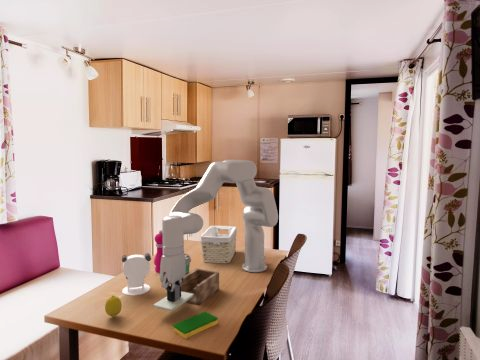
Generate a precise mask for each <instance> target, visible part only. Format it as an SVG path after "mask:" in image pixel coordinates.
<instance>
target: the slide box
mask: <svg viewBox="0 0 480 360" xmlns="http://www.w3.org/2000/svg"><path fill="white" fill-rule="evenodd" d="M219 290H220V272H218V271H214V270H213V271H212V270H209V269H208V270H207V269H202V268H195V269H194V270H192V271H189V273H188V274H187V275H185V277H184V278H183V281H182V286H181V291H182V292H187V293H192V294H194V296H193V297H192V298H190V299H189V300H187V301H186V302H185V303H188V304H189V303H190V304H192V305H198V306H200V305H201V304H202V303H204V302H205V301H207V300H208V299H209V298H210V297H212V296H213V295H214V294H215V293H217V292H218V291H219Z"/></svg>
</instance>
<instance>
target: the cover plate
mask: <svg viewBox="0 0 480 360" xmlns="http://www.w3.org/2000/svg"><path fill="white" fill-rule="evenodd" d="M169 285H170V286H171V284H169ZM174 291H175V301H174V302H172V301H168V300H167V295H166V296H165V297H163V298H161V299H160V300H159V301H157V302H155V303H153V304H152V307H153V308H156V309H159V310H164V311H167V312H171V313H172V312H173V311H174V310H176V309H177V308H179V307H180V306H183V304H185V303H187V302H186V301H187V300H189V299H190V298H192V297H193V296H194V294H192V293H187V292H182V291H181V297H180V285H176V284H174Z"/></svg>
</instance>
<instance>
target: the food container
mask: <svg viewBox="0 0 480 360" xmlns="http://www.w3.org/2000/svg"><path fill="white" fill-rule="evenodd" d="M184 256H185V265H186V273H185V275H187V274H188V273H190V265H191V262H192V257H191V255H189V253H186V252H184Z"/></svg>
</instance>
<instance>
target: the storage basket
mask: <svg viewBox="0 0 480 360" xmlns="http://www.w3.org/2000/svg"><path fill="white" fill-rule="evenodd" d="M237 228H238V227H236V226H235V225H234V226H232V225H231V226H229V225H210V226H209V227H208V228H207V229H206V230H205V231H204V232H203V233H202V234H201V235H200V244H201V254H202V261H203V263H211V264H212V263H214V264H229V263H230V262H231V260H232V259H233V257H234V255H235V252H236V244H237V243H236V242H237V231H238V230H237ZM219 231H222V232H228V233H219Z"/></svg>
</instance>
